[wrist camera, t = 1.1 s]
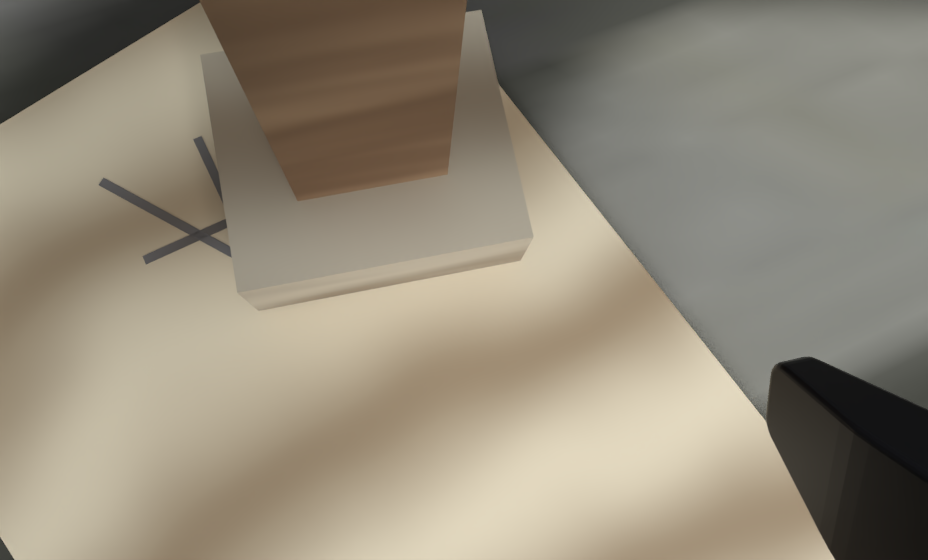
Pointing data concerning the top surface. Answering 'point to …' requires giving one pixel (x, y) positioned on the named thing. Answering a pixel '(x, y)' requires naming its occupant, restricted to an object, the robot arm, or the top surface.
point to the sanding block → (359, 145)
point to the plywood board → (341, 371)
